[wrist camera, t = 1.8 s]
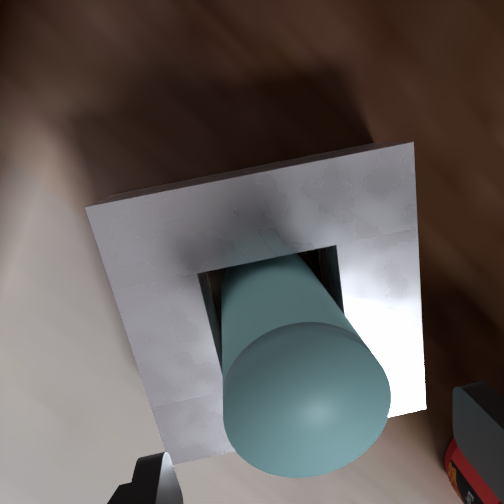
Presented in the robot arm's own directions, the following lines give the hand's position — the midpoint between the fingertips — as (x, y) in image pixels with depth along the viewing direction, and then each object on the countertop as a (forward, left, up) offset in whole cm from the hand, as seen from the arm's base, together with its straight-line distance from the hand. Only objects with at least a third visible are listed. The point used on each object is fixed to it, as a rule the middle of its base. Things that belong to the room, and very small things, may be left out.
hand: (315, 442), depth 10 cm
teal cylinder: (0, 0, -11) cm, 11 cm away
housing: (0, 0, -11) cm, 11 cm away
